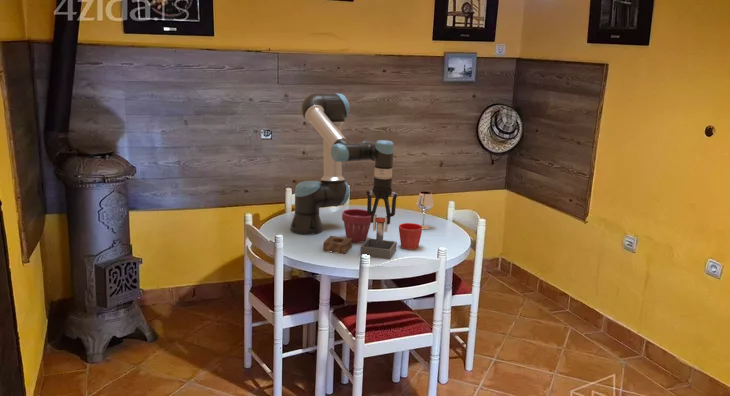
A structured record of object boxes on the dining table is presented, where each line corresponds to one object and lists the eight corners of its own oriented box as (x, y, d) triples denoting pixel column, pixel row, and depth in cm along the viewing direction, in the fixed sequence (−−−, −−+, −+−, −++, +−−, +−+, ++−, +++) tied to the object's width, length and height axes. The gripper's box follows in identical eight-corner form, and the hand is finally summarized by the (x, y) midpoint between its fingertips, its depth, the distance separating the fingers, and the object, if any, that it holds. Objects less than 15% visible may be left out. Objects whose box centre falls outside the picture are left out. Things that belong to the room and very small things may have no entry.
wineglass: (430, 230, 301) (433, 195, 297) (413, 228, 303) (416, 193, 298) (431, 226, 309) (434, 191, 305) (415, 224, 310) (418, 190, 306)
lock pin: (373, 243, 261) (374, 219, 259) (375, 241, 265) (376, 216, 263) (383, 245, 260) (384, 220, 258) (385, 242, 264) (386, 217, 262)
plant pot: (376, 237, 285) (377, 211, 282) (365, 245, 273) (366, 218, 270) (348, 233, 291) (349, 207, 288) (336, 240, 278) (337, 213, 275)
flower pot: (392, 245, 275) (393, 225, 272) (408, 241, 282) (409, 221, 280) (410, 252, 268) (411, 231, 265) (426, 247, 275) (427, 226, 273)
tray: (360, 255, 260) (360, 246, 259) (367, 246, 272) (368, 238, 271) (389, 259, 257) (390, 250, 256) (396, 250, 269) (396, 241, 268)
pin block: (323, 250, 263) (323, 242, 262) (330, 244, 272) (330, 235, 271) (345, 253, 261) (345, 245, 260) (351, 247, 270) (352, 238, 269)
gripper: (360, 177, 255) (358, 230, 260) (401, 181, 251) (398, 235, 256) (365, 174, 262) (362, 226, 267) (404, 177, 258) (401, 230, 263)
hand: (380, 230), depth 262 cm, fingers closed on lock pin, 4 cm apart
